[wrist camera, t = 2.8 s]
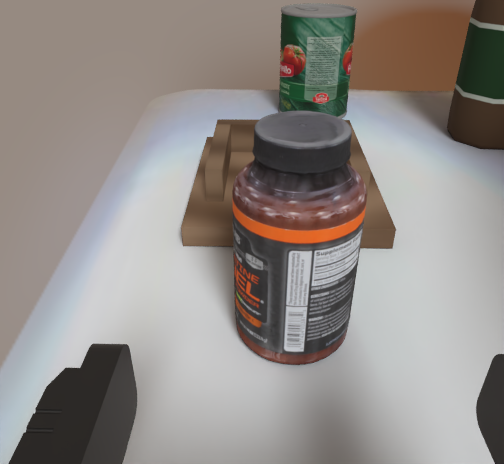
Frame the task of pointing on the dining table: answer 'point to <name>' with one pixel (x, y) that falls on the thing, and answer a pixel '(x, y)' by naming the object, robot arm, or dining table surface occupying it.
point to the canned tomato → (316, 57)
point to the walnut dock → (226, 170)
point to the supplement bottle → (297, 237)
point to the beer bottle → (481, 80)
